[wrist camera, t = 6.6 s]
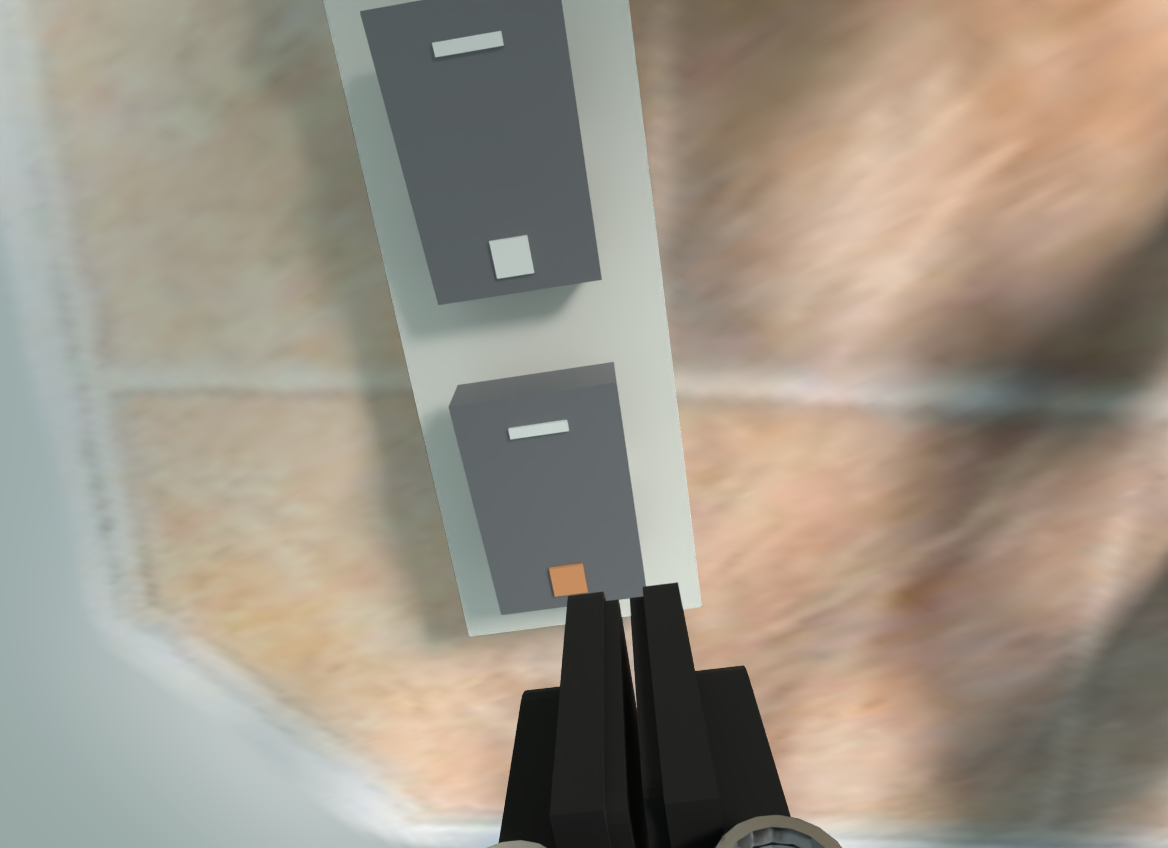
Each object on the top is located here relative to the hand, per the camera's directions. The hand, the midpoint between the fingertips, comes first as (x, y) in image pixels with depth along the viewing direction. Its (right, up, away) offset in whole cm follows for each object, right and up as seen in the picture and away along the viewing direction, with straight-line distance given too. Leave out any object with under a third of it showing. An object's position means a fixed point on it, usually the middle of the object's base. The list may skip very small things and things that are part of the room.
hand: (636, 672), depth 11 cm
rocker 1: (-3, +11, +7) cm, 13 cm away
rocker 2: (-2, +2, +10) cm, 10 cm away
